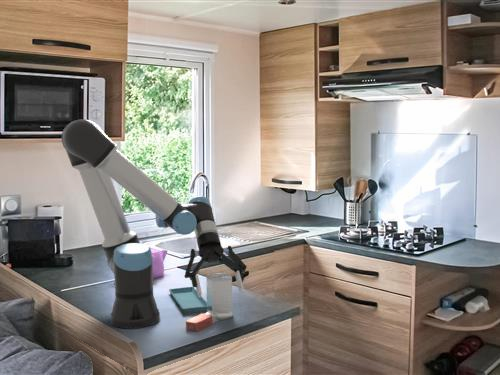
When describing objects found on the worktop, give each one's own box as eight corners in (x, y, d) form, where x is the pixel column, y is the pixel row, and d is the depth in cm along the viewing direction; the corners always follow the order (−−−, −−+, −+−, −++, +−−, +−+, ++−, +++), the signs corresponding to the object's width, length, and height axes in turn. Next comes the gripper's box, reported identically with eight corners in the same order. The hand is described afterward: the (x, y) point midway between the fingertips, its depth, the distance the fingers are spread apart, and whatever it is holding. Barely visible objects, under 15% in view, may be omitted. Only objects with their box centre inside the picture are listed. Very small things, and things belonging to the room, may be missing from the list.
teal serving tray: (168, 294, 213) (168, 287, 213) (193, 292, 216) (193, 285, 216) (182, 316, 189) (182, 308, 188) (210, 313, 191) (210, 305, 191)
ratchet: (202, 332, 172) (201, 309, 171) (180, 328, 176) (180, 305, 175) (237, 314, 188) (236, 293, 187) (216, 310, 192) (215, 290, 191)
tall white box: (212, 313, 182) (211, 278, 181) (206, 307, 188) (206, 274, 188) (232, 311, 184) (231, 277, 184) (226, 306, 191) (226, 272, 190)
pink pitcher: (116, 282, 231) (115, 251, 230) (128, 271, 248) (127, 242, 246) (159, 282, 230) (158, 251, 228) (168, 271, 246) (167, 242, 245)
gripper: (240, 240, 203) (256, 294, 190) (169, 246, 195) (180, 303, 182) (245, 228, 197) (261, 282, 185) (171, 233, 189) (183, 291, 177)
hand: (221, 293), depth 184 cm, fingers open, 13 cm apart
